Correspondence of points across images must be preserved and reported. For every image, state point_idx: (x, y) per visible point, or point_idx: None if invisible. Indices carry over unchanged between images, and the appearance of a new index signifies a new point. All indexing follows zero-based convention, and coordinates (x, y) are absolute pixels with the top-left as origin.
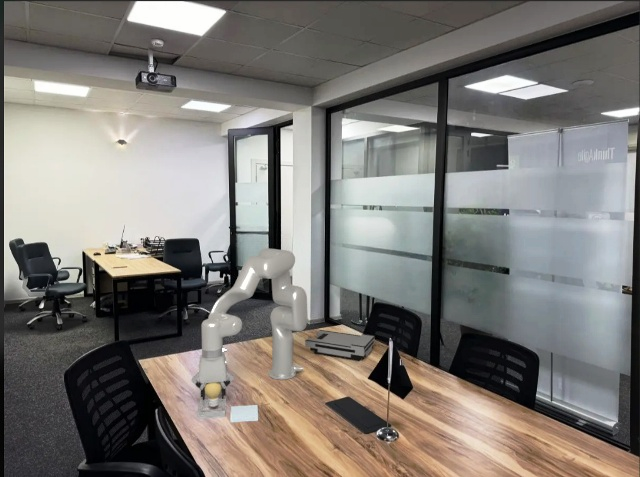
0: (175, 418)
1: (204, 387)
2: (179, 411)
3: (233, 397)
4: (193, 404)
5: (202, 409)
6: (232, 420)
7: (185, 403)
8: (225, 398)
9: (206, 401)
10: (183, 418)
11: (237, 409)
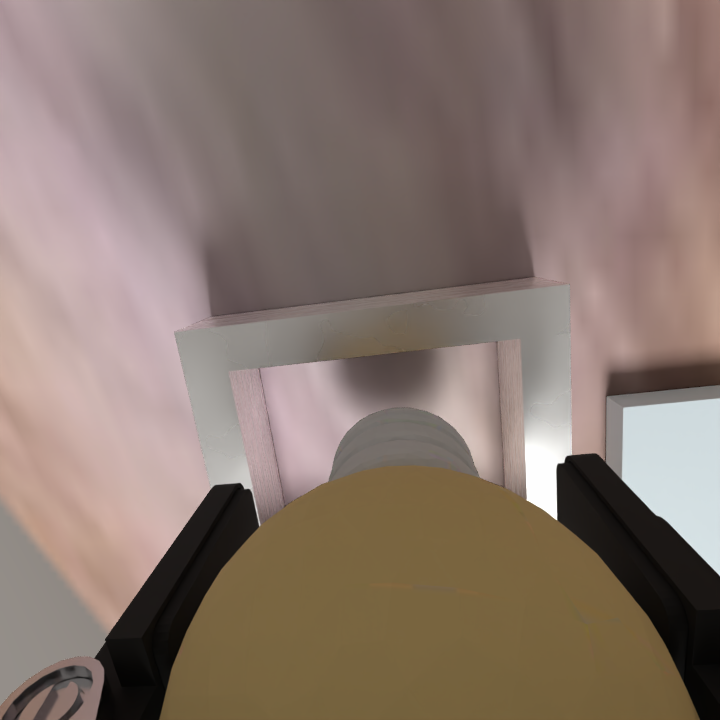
0: (57, 564)
1: (158, 658)
2: (30, 436)
3: (629, 42)
4: (115, 274)
5: (265, 410)
6: None
7: (7, 247)
8: (557, 291)
9: (279, 363)
10: (132, 567)
11: (705, 480)
